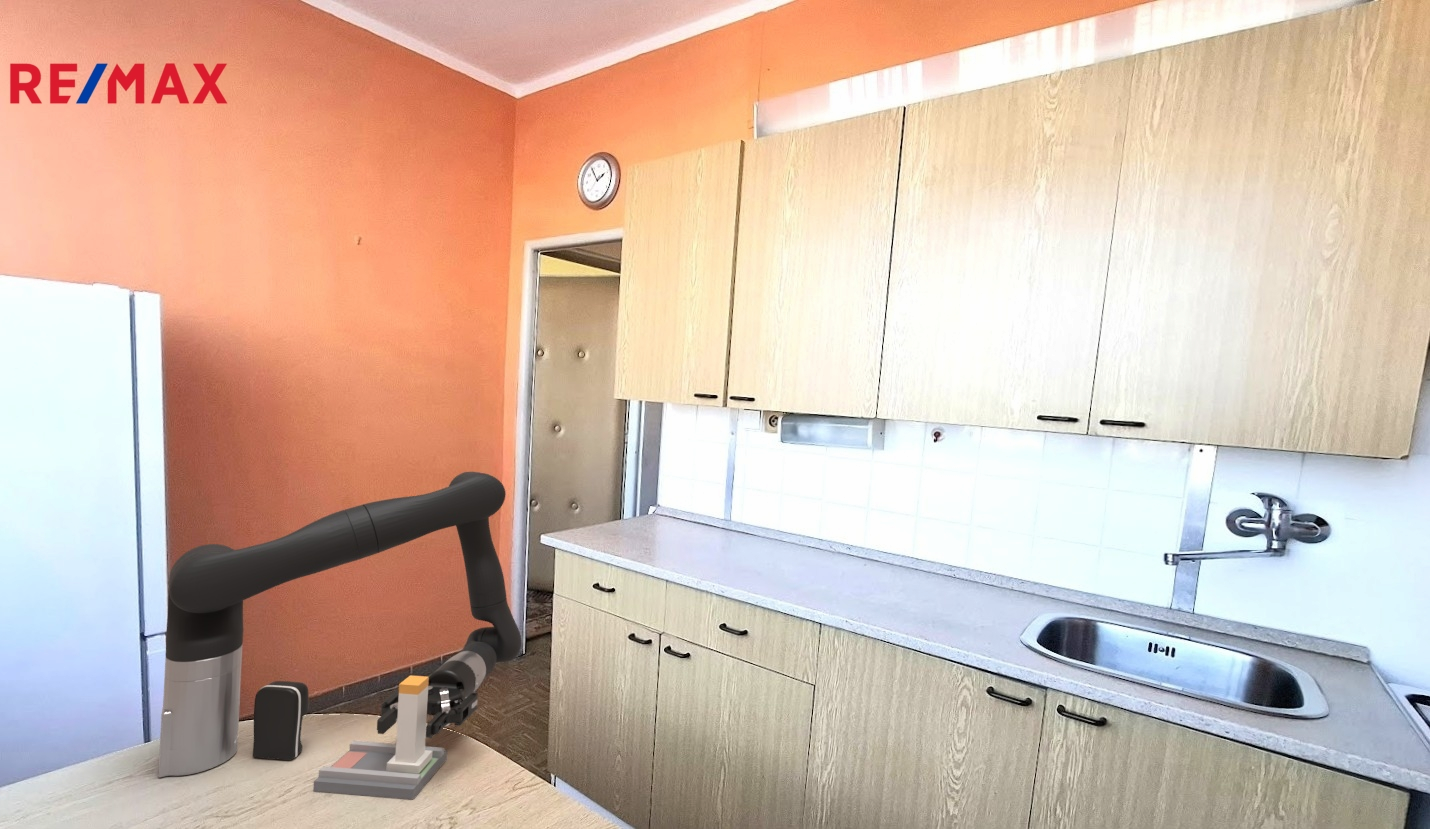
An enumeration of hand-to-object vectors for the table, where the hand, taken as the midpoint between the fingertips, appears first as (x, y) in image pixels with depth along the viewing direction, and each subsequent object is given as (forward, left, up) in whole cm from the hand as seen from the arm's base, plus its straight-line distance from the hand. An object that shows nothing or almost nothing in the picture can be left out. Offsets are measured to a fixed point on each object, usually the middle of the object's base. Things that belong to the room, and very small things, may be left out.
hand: (404, 729), depth 90 cm
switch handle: (+1, +2, -7) cm, 7 cm away
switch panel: (-2, +4, -8) cm, 10 cm away
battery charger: (-14, +19, -9) cm, 25 cm away
